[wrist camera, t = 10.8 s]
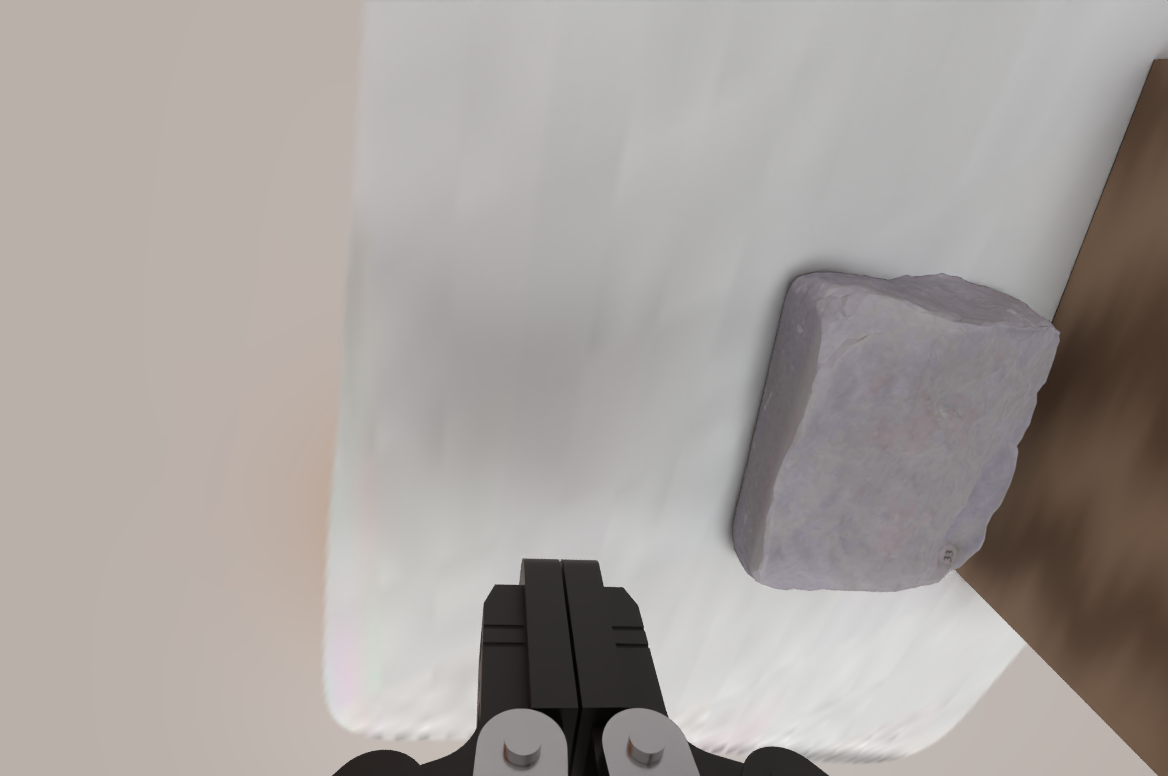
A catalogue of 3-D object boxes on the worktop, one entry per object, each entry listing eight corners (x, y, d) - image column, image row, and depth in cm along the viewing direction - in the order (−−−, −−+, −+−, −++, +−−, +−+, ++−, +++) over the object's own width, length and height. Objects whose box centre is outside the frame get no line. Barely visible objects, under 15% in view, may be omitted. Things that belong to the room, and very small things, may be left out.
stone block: (989, 265, 26) (767, 257, 23) (1111, 304, 22) (862, 302, 19) (897, 521, 31) (703, 545, 28) (984, 592, 27) (767, 631, 24)
